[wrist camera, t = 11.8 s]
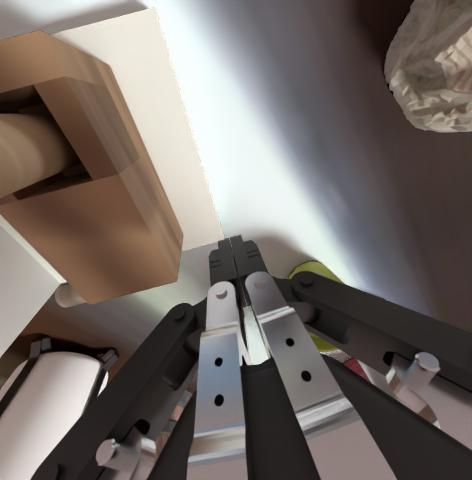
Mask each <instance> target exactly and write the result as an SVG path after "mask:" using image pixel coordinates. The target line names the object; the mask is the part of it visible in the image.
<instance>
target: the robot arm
mask: <svg viewBox="0 0 472 480" xmlns="http://www.w3.org/2000/svg"><path fill="white" fill-rule="evenodd" d="M230 241H231V244H230ZM231 245H232V247H231ZM218 246H219V249H217V250H213V251H211V253H210V255H209V266H210V281H211V288H210V289H209V291H208V294H207V297H206V298H205V299H204V300H203V301H201V302H199V303H198V304H196V305H194V306H192V305H190V304H188V303H181V304H178V305H176V306H175V307H173V308H172V309H171V310H170V311H169V312H168V313H167V314H166V316H165V317H164V318H163V319H162V320H161V322H160V323H159V324H158V325H157V326H156V328H155V329H154V330H153V331H152V332H151V334H150V335H149V336H148V337H147V338H146V339H145V341H144V342H143V343H142V344H141V345H140V347H139V348H138V349H137V350H136V351H135V353H134V354H133V355H132V356H131V357H130V358H129V360H128V361H127V362H126V363H125V364H124V366H123V367H122V368H121V369H120V370H119V372H118V373H117V374H116V375H115V376H114V378H113V379H112V380H111V381H110V382H109V383H108V385H107V386H106V387H105V388H104V389H103V391H102V392H101V393H100V394H99V395H98V397H97V398H96V399H95V400H94V401H93V403H92V404H91V405H90V406H89V407H88V408H87V410H86V411H85V412H84V413H83V414H82V416H81V417H80V418H79V419H78V420H77V422H76V423H75V424H74V425H73V426H72V427H71V429H70V430H69V431H68V432H67V433H66V435H65V436H64V437H63V438H62V439H61V441H60V442H59V443H58V444H57V445H56V447H55V448H54V449H53V450H52V451H51V452H50V454H49V455H48V456H47V457H46V458H45V460H44V461H43V462H42V463H41V464H40V466H39V467H38V468H37V470H36V471H35V473H34V474H33V476H32V478H31V479H30V480H472V333H470V332H468V331H465V330H462V329H460V328H457V327H455V326H452V325H449V324H447V323H444V322H442V321H439V320H436V319H434V318H431V317H429V316H426V315H423V314H421V313H418V312H415V311H413V310H410V309H408V308H405V307H402V306H400V305H397V304H395V303H392V302H389V301H387V300H384V299H382V298H379V297H376V296H374V295H371V294H369V293H366V292H363V291H361V290H358V289H356V288H353V287H350V286H348V285H345V284H343V283H340V282H337V281H335V280H332V279H330V278H327V277H324V276H322V275H319V274H316V273H314V272H311V271H300V272H297V273H296V274H294V275H293V276H292V278H291V279H278V278H275V277H273V276H271V275H270V274H269V273H268V271H267V268H266V266H265V264H264V261H263V259H262V257H261V255H260V252H259V250H258V247H257V245H256V244H255V243H254V242H253V241H251V240H250V241H246V242H243V240H242V237H241V235H238V236H234V237H231V238H230V240H229V238H227V239H223V240H220V241H218ZM232 249H233V251H232ZM233 253H234V254H233ZM241 285H242V286H241ZM242 288H243V290H242ZM243 292H244V294H243ZM244 295H245V298H246V302H247V305H248V306H250V305H251V307H252V311H253V314H254V318H255V321H256V324H257V326H258V329H259V332H260V335H261V338H262V340H263V343H264V346H265V349H266V352H267V355H268V358H269V359H268V360H266V361H264V362H263V363H261V364H259V365H252V363H251V359H250V353H249V346H248V339H247V331H246V324H245V319H244V317H245V316H244V311H243V307H247V306H246V302H245V298H244ZM307 330H308V331H309V332H311V333H313V334H315V335H316V336H318V337H320V338H321V339H323V340H325V341H326V342H328V343H330V344H332V345H333V346H335V347H337V348H338V349H340V350H342V351H343V352H345V353H347V354H348V355H350V356H352V357H354V358H355V359H357V360H358V362H359V364H360V365H361V367H362V368H363V370H364V372H365V373H366V375H367V376H368V378H369V380H370V381H371V382H369V381H368V380H366V379H365V378H363V377H362V376H360V375H359V374H357V373H356V372H354V371H353V370H351V369H350V368H348V367H347V366H345V365H344V364H342V363H341V362H339V361H337V360H335V359H334V358H332V357H329V356H327V355H324V354H320V353H319V351H318V349H317V348H316V346H315V344H314V342H313V341H312V339H311V337H310V335H309V334H308V332H307ZM197 370H198V382H197V390H196V391H195V393H194V394H193V395H192V396H191V398H190V399H189V401H188V402H187V404H186V406H185V408H184V409H183V411H182V413H181V415H180V417H179V419H178V421H177V423H176V425H175V426H174V428H173V430H172V432H171V434H170V436H169V438H168V440H167V442H166V443H165V445H164V447H163V449H162V451H161V453H160V455H159V457H158V459H157V460H156V462H155V456H156V447H155V441H156V440H157V438H158V436H159V435H160V433H161V431H162V430H163V428H164V426H165V424H166V423H167V421H168V419H169V418H170V416H171V414H172V413H173V411H174V409H175V407H176V406H177V404H178V402H179V401H180V399H181V397H182V396H183V394H184V392H185V391H186V389H187V387H188V385H189V384H190V382H191V380H192V379H193V377H194V375H195V374H196V372H197ZM154 463H155V464H154Z"/></svg>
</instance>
